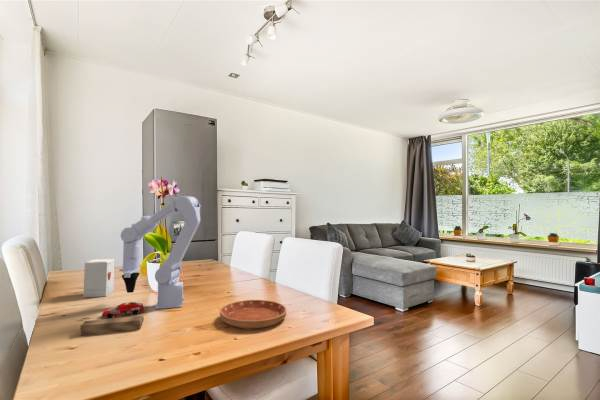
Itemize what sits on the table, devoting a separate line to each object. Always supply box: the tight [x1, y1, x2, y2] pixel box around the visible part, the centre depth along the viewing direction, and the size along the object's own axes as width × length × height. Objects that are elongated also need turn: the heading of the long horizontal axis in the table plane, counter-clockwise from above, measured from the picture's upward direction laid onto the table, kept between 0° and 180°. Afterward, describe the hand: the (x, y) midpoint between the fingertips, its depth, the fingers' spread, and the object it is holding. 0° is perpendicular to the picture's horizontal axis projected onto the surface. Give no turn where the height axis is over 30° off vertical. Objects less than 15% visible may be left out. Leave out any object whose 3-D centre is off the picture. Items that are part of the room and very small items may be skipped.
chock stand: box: [79, 315, 145, 337], centre depth 99 cm, size 16×8×3 cm, turn 108°
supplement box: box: [82, 258, 115, 298], centre depth 136 cm, size 9×9×15 cm
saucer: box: [219, 299, 287, 330], centre depth 108 cm, size 23×23×4 cm
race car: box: [101, 301, 145, 319], centre depth 111 cm, size 13×5×4 cm, turn 119°
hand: (130, 292), depth 122 cm, fingers closed
